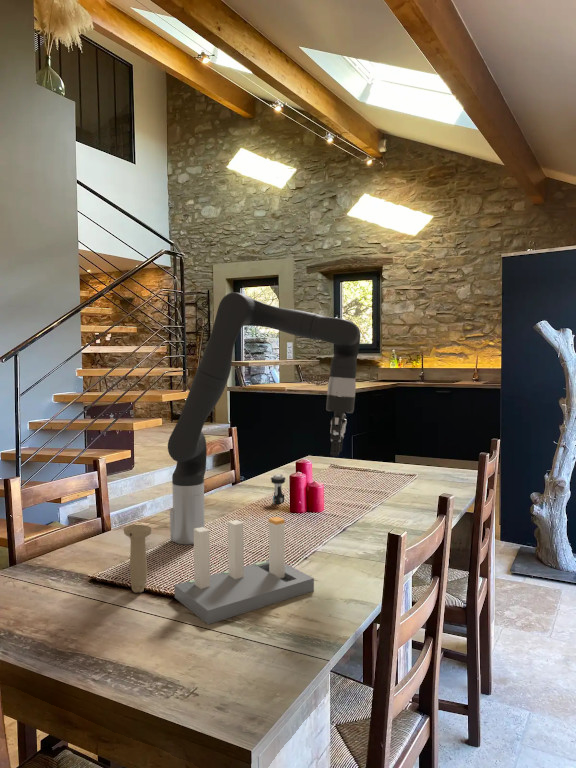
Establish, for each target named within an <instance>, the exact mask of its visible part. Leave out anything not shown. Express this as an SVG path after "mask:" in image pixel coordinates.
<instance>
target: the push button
mask: <svg viewBox="0 0 576 768" xmlns="http://www.w3.org/2000/svg"><path fill="white" fill-rule="evenodd" d="M270 481H271V483H272V484H273V485H274V491H273V496H272V500H271V502H272V503H271V504H272V505H273V504H274V505H275V504H276V505H278V504H281V503H284V502H285V494H284V493H283V492H282V491H283V489H282V487H283V486H282V485H283V484H285V482H286V477H285V476H284V475H283V474H281V473H280V474H279V473H277V474H273V475H272V477H270Z"/></svg>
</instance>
